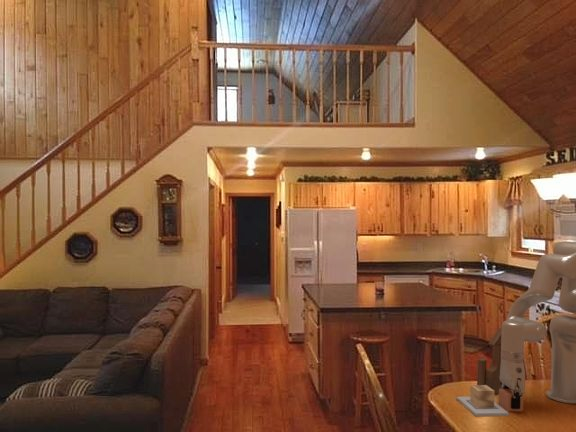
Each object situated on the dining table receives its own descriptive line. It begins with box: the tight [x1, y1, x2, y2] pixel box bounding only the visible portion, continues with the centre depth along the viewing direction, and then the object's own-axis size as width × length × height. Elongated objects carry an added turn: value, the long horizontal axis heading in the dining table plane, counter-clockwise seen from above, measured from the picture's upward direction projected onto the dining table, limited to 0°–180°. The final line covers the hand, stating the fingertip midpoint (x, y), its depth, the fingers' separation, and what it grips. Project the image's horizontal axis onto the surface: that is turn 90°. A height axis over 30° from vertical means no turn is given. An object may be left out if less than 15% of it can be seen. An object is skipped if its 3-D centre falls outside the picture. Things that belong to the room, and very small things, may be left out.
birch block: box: [469, 384, 495, 408], centre depth 188 cm, size 6×6×6 cm
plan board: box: [456, 396, 510, 417], centre depth 188 cm, size 12×16×1 cm
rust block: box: [498, 388, 524, 412], centre depth 188 cm, size 6×6×6 cm
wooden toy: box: [476, 327, 517, 396], centre depth 206 cm, size 16×7×25 cm, turn 118°
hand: (510, 404), depth 188 cm, fingers closed on rust block, 6 cm apart
